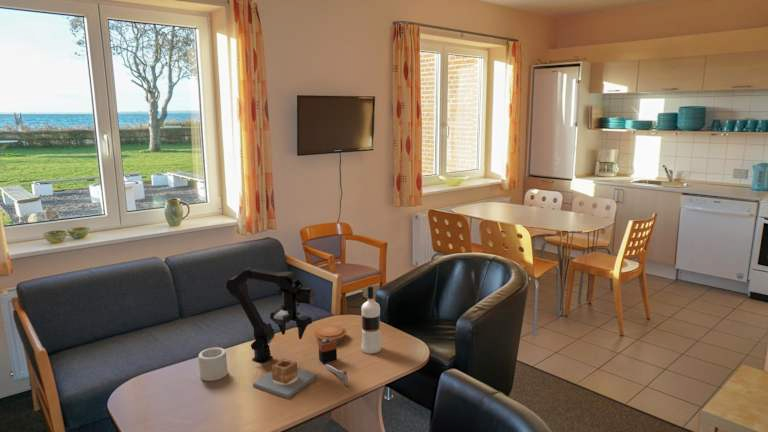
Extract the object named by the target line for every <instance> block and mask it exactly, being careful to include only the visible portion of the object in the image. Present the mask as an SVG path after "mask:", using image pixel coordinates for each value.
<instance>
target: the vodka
mask: <svg viewBox="0 0 768 432" xmlns="http://www.w3.org/2000/svg"><path fill="white" fill-rule="evenodd" d="M360 308H361V309H360V310H361V324H362V325H361V333H362V335H361V337H362V339H361V345H360V349H361V351H362V352H364V353H365V354H370V355H371V354H373V355H374V354H377V353H379V352H381V351H382V345H383V344H382V339H381V319H380V318H381V317H380V316H381V306H380V303H378V302H376V300H375V299H374V286H367V301H365V302H364V303H363V304H362V305H361V307H360Z"/></svg>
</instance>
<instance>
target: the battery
mask: <svg viewBox="0 0 768 432" xmlns="http://www.w3.org/2000/svg"><path fill="white" fill-rule="evenodd" d="M337 352H338V351H337V343H336V341H335V340H334V339H333V338H329V339H322V340H321V341H318V358H319V359H318V361H320V363H322V364H323V365H326V364H329V363H333V362H336V361H338V355H337V354H338V353H337Z"/></svg>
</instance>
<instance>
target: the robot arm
mask: <svg viewBox="0 0 768 432" xmlns="http://www.w3.org/2000/svg"><path fill="white" fill-rule="evenodd" d="M249 279H250V280H256V281H260V282H266V283H271V284H275V285H276V286H277V287H279V289H278V290H277V293H282V301H283V303H282V305H281V306H280V309H279V308H278V309H276V310H274V311H272V312H271V313H270V317H269V319H270V320H272V322H274V323H275V325H277V326H278V327H279V330H280V333H281V335H282V336H284V335H286V329H287V327H286V326H287V324H288V323H290V321H292V322H293V321H294V322H295V325H296V326H295V328H297V332H298V339H299V340H301V339H303V336H304V333H305V332H306V331H305V330H307V327H308V326H309V325H311V324H313V318H312V316H308V315H301V316H300V317H299V315H300V312H299V311H298V307H299V306H300V304H304V305H313V304H314V302H315V299H316V293H315V292H314V290H313V287H304V284H303V283H302V282H301V280H300V279H299V277H298V275H297V274H296V272H294V271H280V272H276V271H271V270H265V269H261V268H255V267H251V266H250V267H247V268H246V269H244V270H243V271H242V272H241V273H239V274H237V275H236V276H234V277H232V278H229V280H227V281H226V284H225V288H226V290H227V291H228V292H229V294H230V295H231V296H232V297H233V298H236V300H237V301H238V302H239V304H240V306H241V308H242V310H243V312H244V314H245V315H246V317H247V319H248V320H249V322H250V324H251V326H252V328H253V337H254V341H253V342H252V343H251V344H250V348H251V349H252V351H254V352H253V353H254V355H253V356H254V357H253V358H252V359H251V360H252V361H253V362H257V363H259V364H264V363H266V362H268V361H270V360H271V359H273V357H274V356H272V355H271V349H270V345H269V344H270V343H271V342H272V341H273V339H274V338H275V335H276V334H275V329H274V328H273V326H272V324H271V323H270V322H269V323H266V322H264V320H263V318H262V316H261V315H260V313H259V311H258V309H257V308H256V305H255V304H254V302H253V300H252V298H251V296H250V295H249V291H248V290H249V288H248V283H247V281H249ZM294 285H295V286H294Z"/></svg>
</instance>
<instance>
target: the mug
mask: <svg viewBox="0 0 768 432" xmlns="http://www.w3.org/2000/svg"><path fill="white" fill-rule="evenodd" d="M197 356H198V367H199V377H200V379H201V380H202V381H205V382H214V381H218V380H221V379H224V377H226V375H227V374H228V361H227V351H226V349H224V348H222V347H217V346H216V347H209V348H205V349H203V350H201V351H200V352H199V354H198V355H197Z"/></svg>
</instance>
